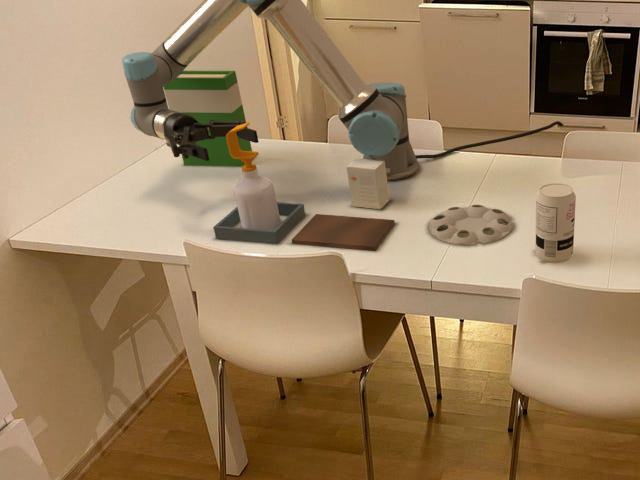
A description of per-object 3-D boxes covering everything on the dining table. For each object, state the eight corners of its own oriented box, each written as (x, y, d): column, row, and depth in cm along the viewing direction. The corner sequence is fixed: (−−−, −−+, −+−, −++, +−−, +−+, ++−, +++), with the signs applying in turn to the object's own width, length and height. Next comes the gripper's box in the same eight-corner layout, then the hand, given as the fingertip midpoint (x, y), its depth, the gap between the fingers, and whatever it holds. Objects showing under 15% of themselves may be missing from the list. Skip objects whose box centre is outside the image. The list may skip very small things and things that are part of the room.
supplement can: (532, 247, 167) (533, 183, 158) (569, 245, 167) (572, 181, 159) (537, 265, 160) (539, 199, 152) (576, 262, 161) (579, 196, 152)
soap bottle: (271, 236, 175) (249, 132, 161) (235, 233, 177) (210, 130, 163) (287, 219, 182) (267, 118, 168) (252, 217, 184) (230, 117, 170)
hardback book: (184, 165, 214) (161, 78, 200) (195, 155, 220) (173, 70, 206) (243, 166, 212) (224, 78, 198) (253, 156, 218) (235, 70, 204)
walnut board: (394, 223, 179) (394, 219, 178) (375, 250, 168) (374, 246, 167) (316, 217, 183) (315, 213, 182) (292, 243, 172) (291, 239, 171)
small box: (390, 200, 190) (385, 160, 184) (380, 210, 185) (375, 169, 179) (361, 197, 192) (356, 157, 186) (351, 206, 188) (345, 165, 181)
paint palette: (456, 253, 166) (456, 245, 165) (414, 222, 179) (413, 214, 178) (529, 230, 174) (529, 222, 173) (483, 201, 188) (483, 194, 186)
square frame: (305, 215, 184) (303, 203, 182) (277, 244, 172) (275, 232, 170) (247, 210, 187) (245, 199, 186) (216, 238, 175) (212, 227, 173)
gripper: (224, 129, 192) (278, 145, 181) (135, 159, 176) (188, 178, 165) (217, 99, 188) (272, 114, 177) (126, 127, 172) (179, 145, 161)
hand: (232, 145), depth 171 cm, fingers open, 13 cm apart
